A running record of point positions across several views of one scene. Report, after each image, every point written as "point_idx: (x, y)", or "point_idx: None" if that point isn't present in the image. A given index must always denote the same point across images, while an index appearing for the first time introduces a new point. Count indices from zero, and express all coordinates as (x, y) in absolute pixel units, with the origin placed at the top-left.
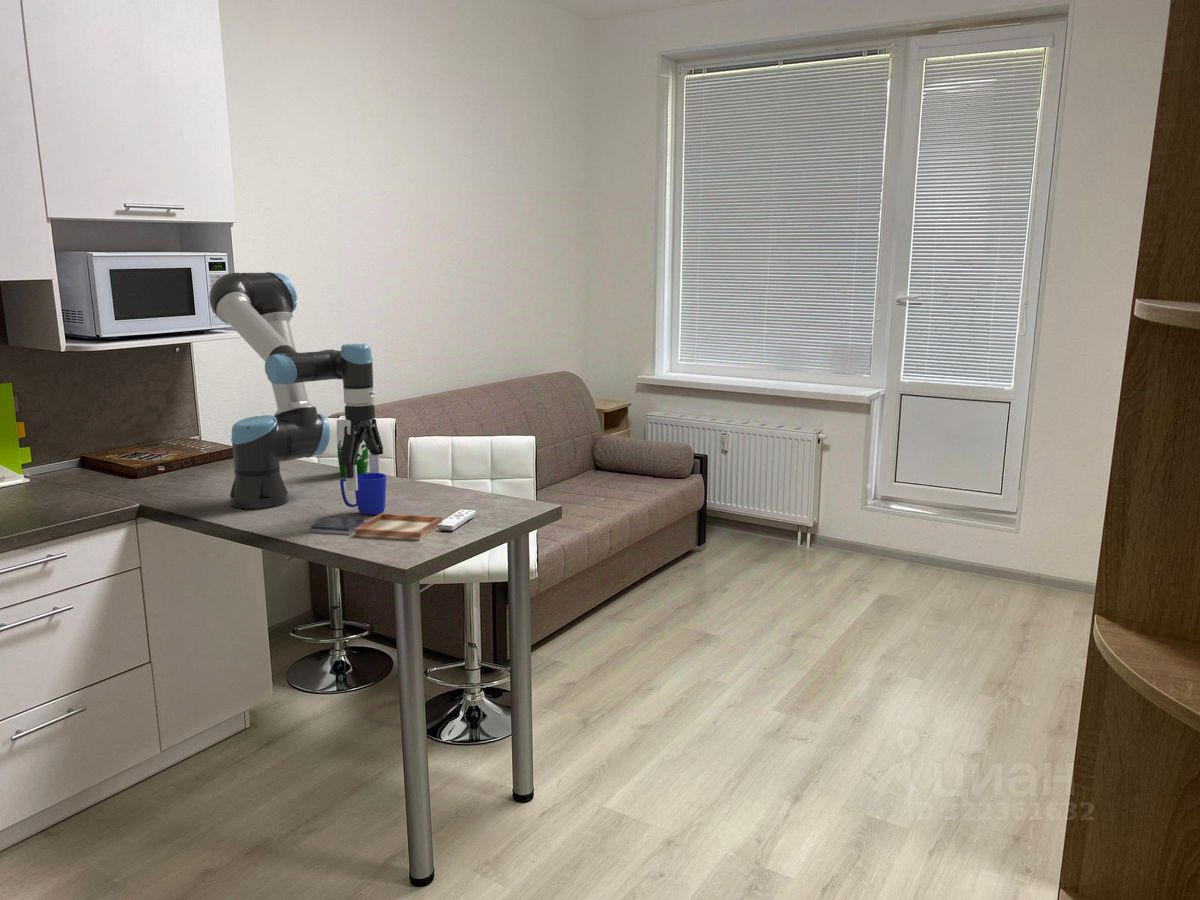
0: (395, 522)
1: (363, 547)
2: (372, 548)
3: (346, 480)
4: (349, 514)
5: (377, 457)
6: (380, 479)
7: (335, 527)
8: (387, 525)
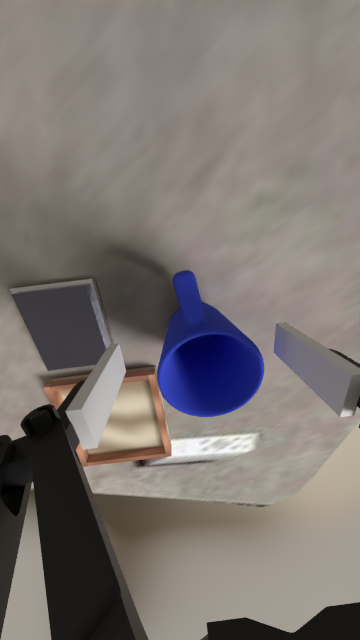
0: (138, 401)
1: (14, 415)
2: (19, 426)
3: (98, 363)
4: (170, 288)
5: (332, 405)
6: (191, 413)
7: (37, 346)
8: (117, 399)
